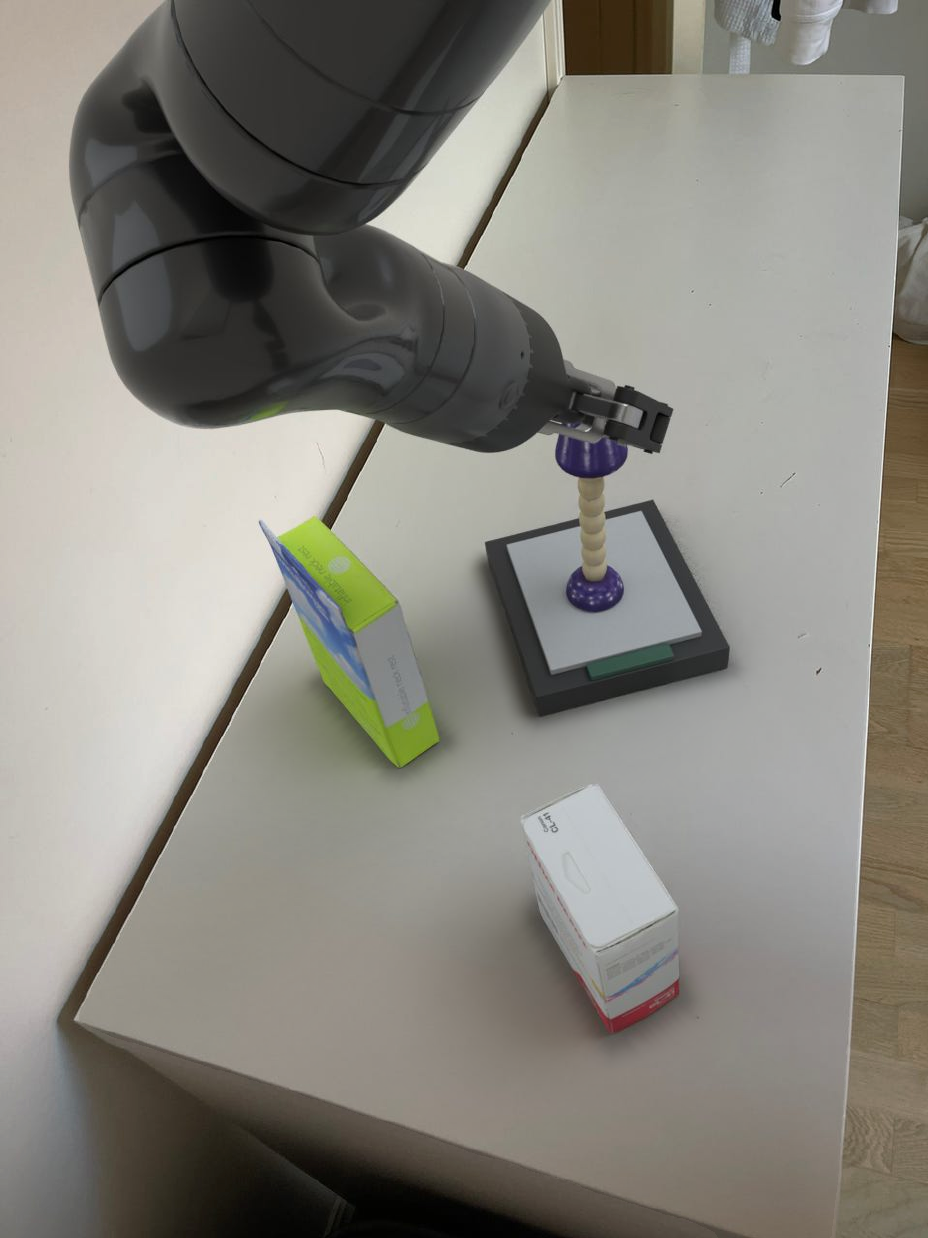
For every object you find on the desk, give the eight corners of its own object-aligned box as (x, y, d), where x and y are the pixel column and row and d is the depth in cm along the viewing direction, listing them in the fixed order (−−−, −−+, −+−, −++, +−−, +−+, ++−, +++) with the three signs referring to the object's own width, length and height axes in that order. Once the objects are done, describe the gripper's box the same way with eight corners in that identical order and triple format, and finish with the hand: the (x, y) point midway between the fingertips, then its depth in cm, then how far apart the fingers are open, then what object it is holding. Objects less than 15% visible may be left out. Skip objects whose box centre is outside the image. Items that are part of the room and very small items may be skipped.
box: (443, 741, 70) (398, 576, 57) (395, 774, 69) (338, 613, 56) (364, 654, 76) (307, 487, 63) (319, 684, 75) (251, 519, 62)
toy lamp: (565, 566, 75) (550, 385, 63) (628, 563, 75) (625, 380, 62) (566, 614, 72) (550, 434, 60) (631, 611, 72) (629, 429, 59)
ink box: (682, 999, 57) (690, 912, 48) (604, 1041, 56) (598, 960, 47) (605, 874, 62) (599, 774, 53) (533, 910, 61) (515, 816, 52)
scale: (728, 668, 71) (730, 642, 69) (538, 717, 70) (535, 692, 68) (653, 520, 81) (653, 493, 79) (487, 562, 81) (483, 536, 79)
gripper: (618, 308, 42) (712, 378, 56) (351, 252, 48) (497, 327, 63) (566, 480, 43) (671, 505, 58) (313, 404, 50) (465, 444, 64)
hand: (581, 413), depth 60 cm, fingers open, 8 cm apart
